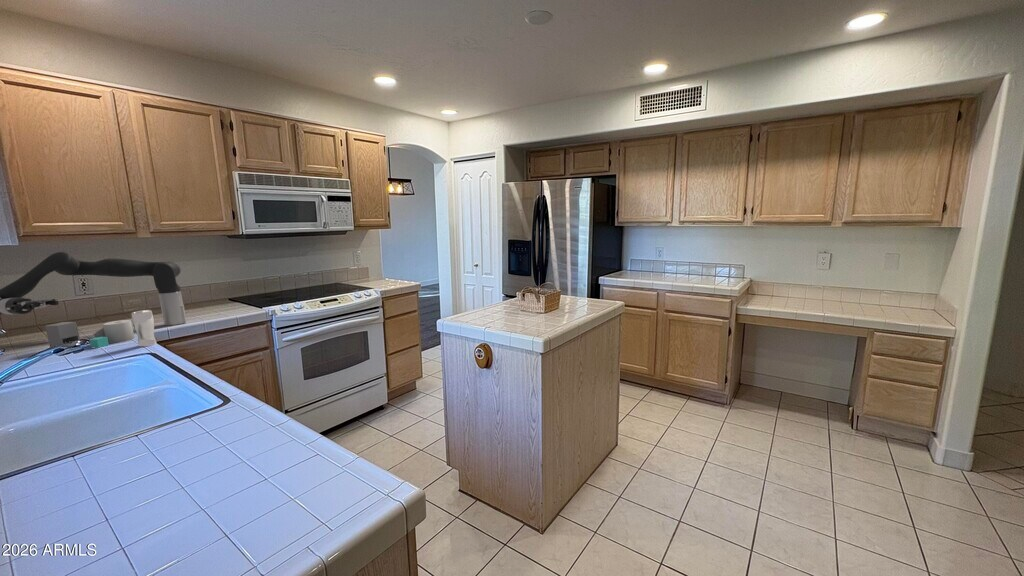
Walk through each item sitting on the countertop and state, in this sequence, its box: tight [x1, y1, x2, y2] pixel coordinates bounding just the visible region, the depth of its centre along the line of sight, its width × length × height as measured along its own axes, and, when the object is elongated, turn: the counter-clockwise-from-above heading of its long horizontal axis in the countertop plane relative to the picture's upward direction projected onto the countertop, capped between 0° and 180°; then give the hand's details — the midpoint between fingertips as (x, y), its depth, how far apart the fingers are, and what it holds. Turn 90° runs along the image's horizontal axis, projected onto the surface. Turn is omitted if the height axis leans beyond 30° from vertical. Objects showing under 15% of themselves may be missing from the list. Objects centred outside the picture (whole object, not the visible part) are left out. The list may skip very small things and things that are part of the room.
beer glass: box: [131, 309, 157, 348], centre depth 180 cm, size 7×7×15 cm
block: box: [89, 337, 110, 349], centre depth 180 cm, size 4×4×4 cm
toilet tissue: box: [92, 319, 135, 344], centre depth 189 cm, size 9×13×9 cm
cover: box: [44, 321, 81, 349], centre depth 179 cm, size 7×7×11 cm
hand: (45, 304), depth 182 cm, fingers open, 8 cm apart
